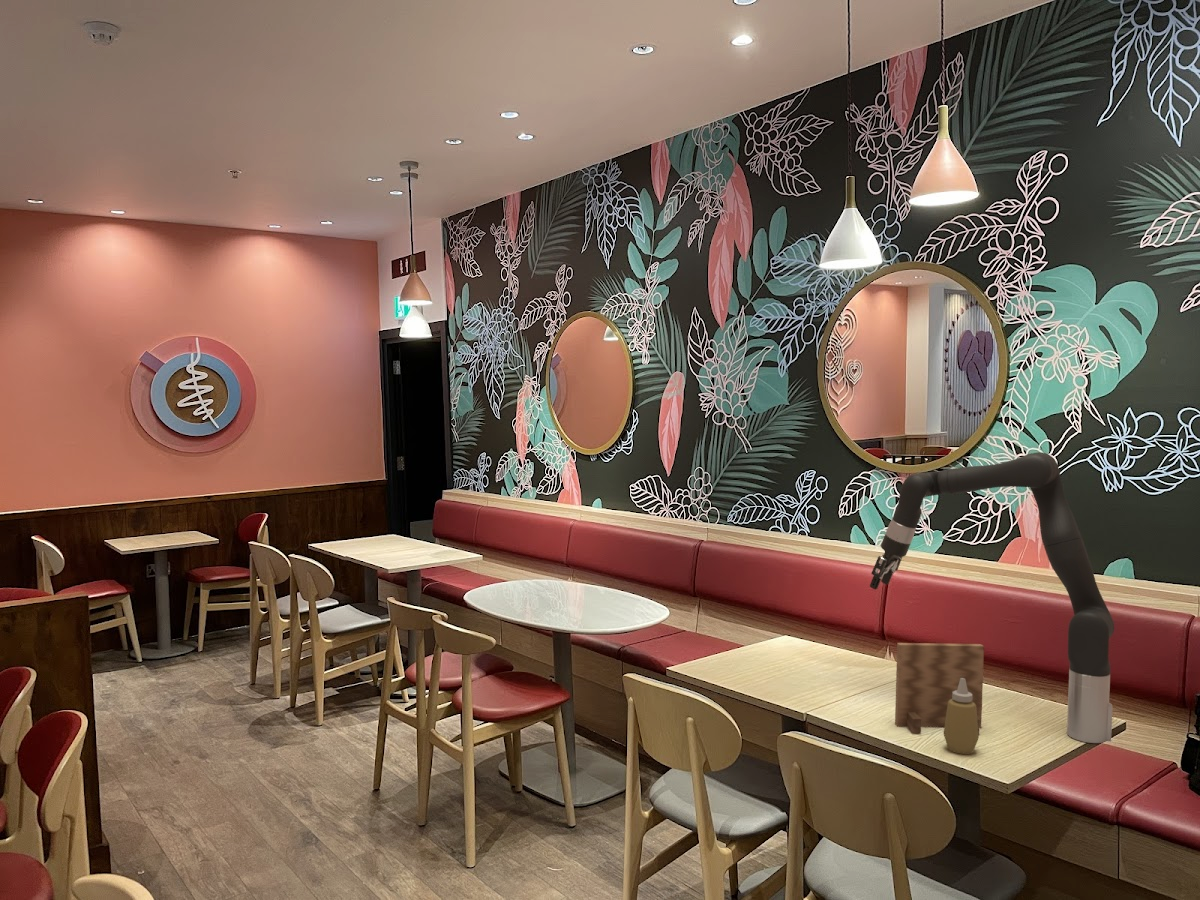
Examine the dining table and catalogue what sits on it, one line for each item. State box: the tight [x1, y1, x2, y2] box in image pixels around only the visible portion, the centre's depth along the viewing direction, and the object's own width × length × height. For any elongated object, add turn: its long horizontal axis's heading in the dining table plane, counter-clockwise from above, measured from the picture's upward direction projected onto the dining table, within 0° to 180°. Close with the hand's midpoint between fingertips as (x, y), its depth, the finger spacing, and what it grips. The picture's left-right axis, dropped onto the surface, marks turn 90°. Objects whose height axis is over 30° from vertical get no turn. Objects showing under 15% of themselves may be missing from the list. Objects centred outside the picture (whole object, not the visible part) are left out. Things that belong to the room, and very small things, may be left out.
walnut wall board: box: [894, 642, 985, 736], centre depth 233 cm, size 22×7×22 cm, turn 88°
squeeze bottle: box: [943, 678, 980, 755], centre depth 220 cm, size 8×8×18 cm
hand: (878, 585), depth 264 cm, fingers open, 8 cm apart
